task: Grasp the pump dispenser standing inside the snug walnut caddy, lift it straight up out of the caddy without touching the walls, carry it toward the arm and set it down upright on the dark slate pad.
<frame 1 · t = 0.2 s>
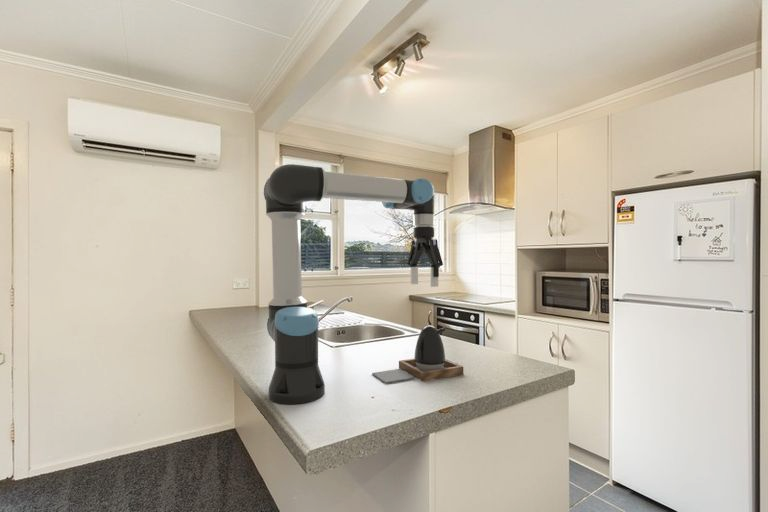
hand: (424, 285, 135), 28 cm above the counter, fingers open, 13 cm apart
caddy: (430, 371, 123), on the counter
pump dispenser: (430, 371, 123), resting in caddy
pad: (393, 377, 118), on the counter
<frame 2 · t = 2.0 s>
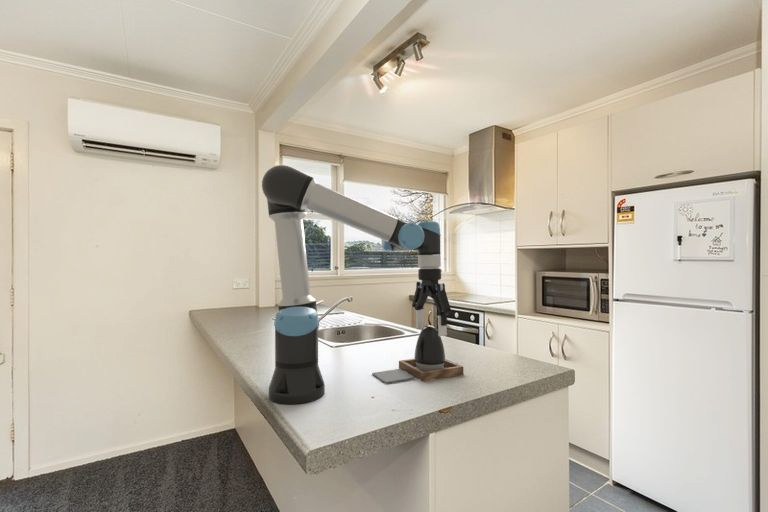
hand: (430, 332, 124), 13 cm above the counter, fingers open, 13 cm apart
nothing on the counter moved.
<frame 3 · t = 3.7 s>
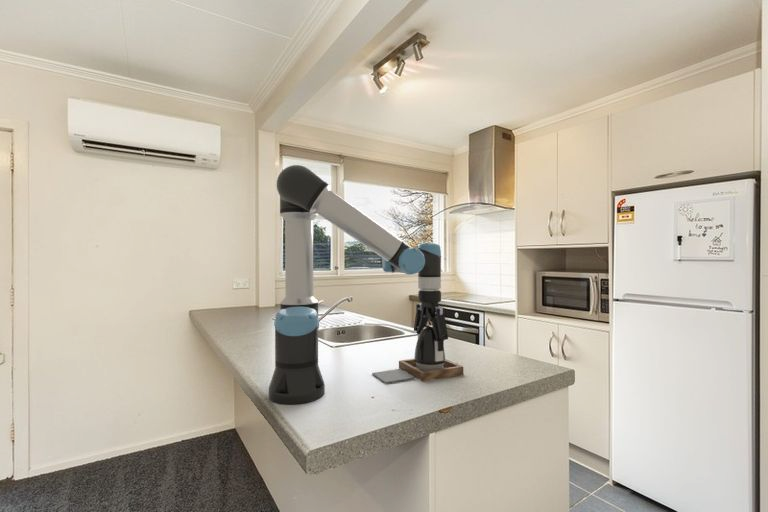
hand: (430, 356, 123), 5 cm above the counter, fingers closed on pump dispenser, 10 cm apart
pump dispenser: (430, 371, 123), resting in caddy, touching gripper
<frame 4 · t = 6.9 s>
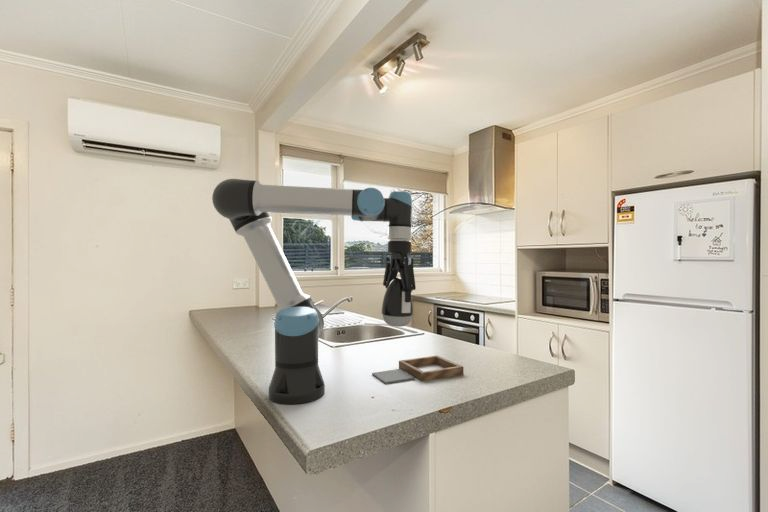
hand: (397, 310, 119), 21 cm above the counter, fingers closed on pump dispenser, 10 cm apart
pump dispenser: (397, 325, 119), point 16 cm above the counter, touching gripper
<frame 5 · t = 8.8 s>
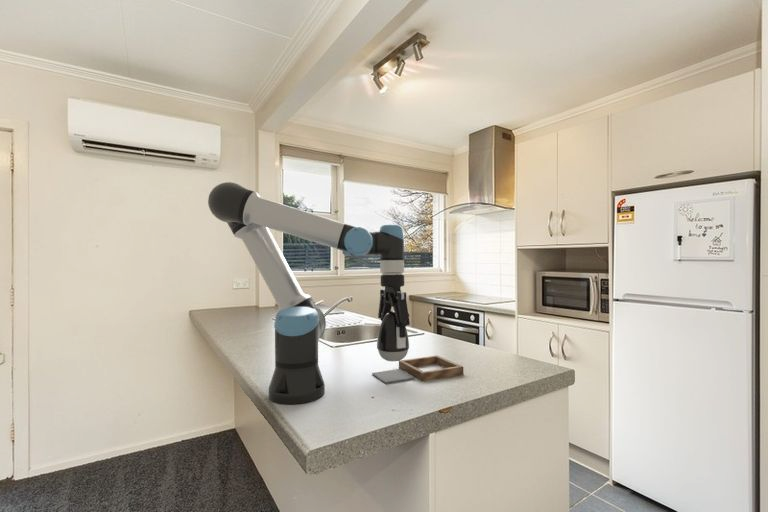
hand: (393, 344, 118), 10 cm above the counter, fingers closed on pump dispenser, 10 cm apart
pump dispenser: (393, 359, 118), point 5 cm above the counter, touching gripper
when the fingers open (7 cm above the counter, at t = 10.4 s): pump dispenser drops 1 cm, resting on pad.
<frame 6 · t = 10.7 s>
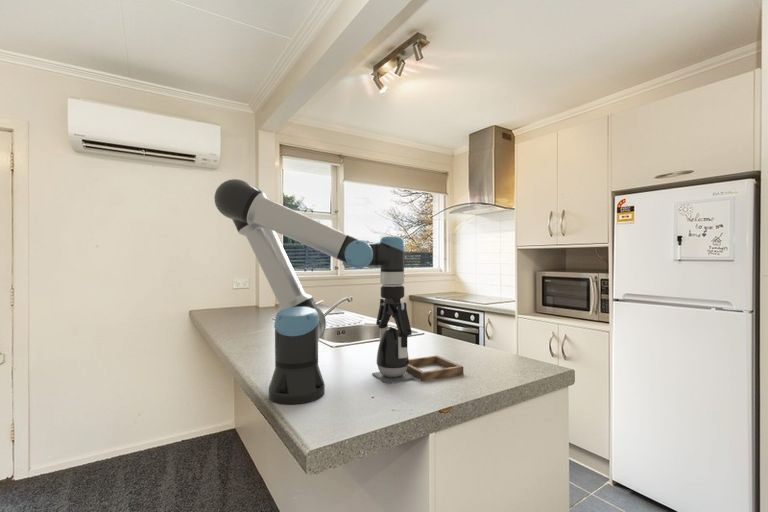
hand: (392, 352, 118), 8 cm above the counter, fingers open, 13 cm apart
pump dispenser: (392, 375, 118), resting on pad
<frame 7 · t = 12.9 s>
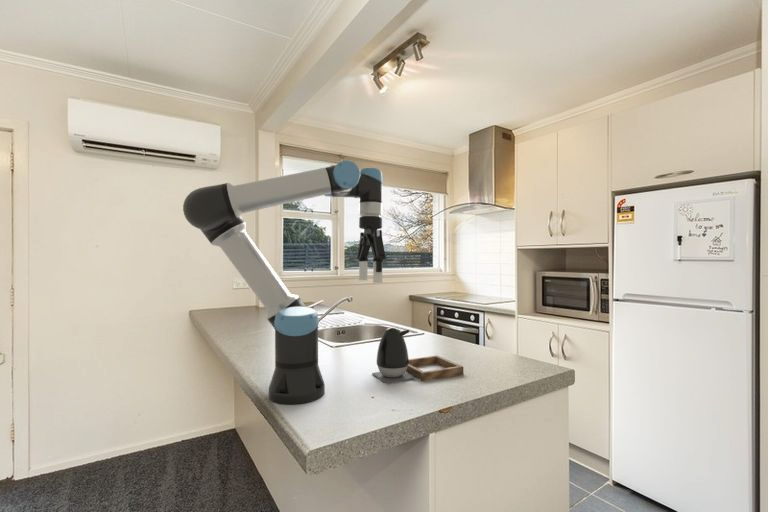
hand: (370, 281, 122), 30 cm above the counter, fingers open, 13 cm apart
nothing on the counter moved.
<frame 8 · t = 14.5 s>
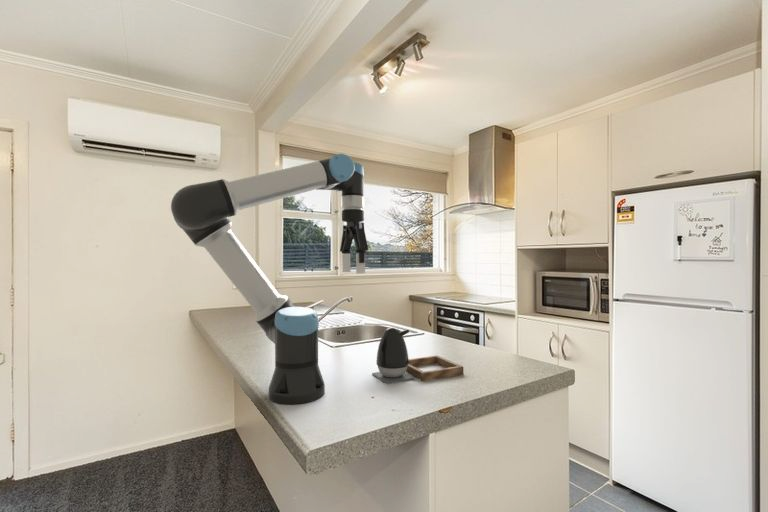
hand: (353, 272, 125), 33 cm above the counter, fingers open, 13 cm apart
nothing on the counter moved.
at the end: pump dispenser 0.0 cm from the pad (horizontally); pump dispenser tilted 0°; pump dispenser resting on pad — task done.
